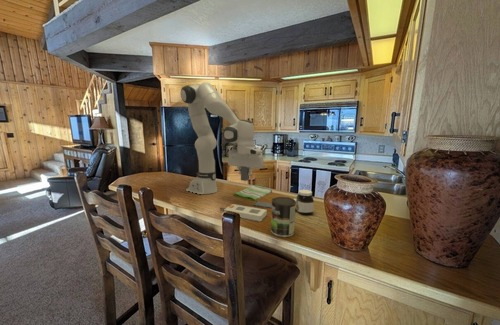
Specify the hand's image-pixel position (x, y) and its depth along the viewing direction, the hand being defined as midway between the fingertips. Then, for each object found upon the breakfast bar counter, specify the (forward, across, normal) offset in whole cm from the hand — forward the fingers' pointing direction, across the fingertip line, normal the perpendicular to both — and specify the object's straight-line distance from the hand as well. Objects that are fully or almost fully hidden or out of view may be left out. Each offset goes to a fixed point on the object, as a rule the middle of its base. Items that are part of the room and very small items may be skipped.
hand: (245, 174), depth 119 cm
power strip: (+19, +3, -10) cm, 22 cm away
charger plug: (+3, 0, 0) cm, 3 cm away
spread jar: (+19, +30, +7) cm, 36 cm away
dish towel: (+20, -5, +25) cm, 33 cm away
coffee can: (+19, +27, -19) cm, 38 cm away
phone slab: (+20, +10, +8) cm, 23 cm away
